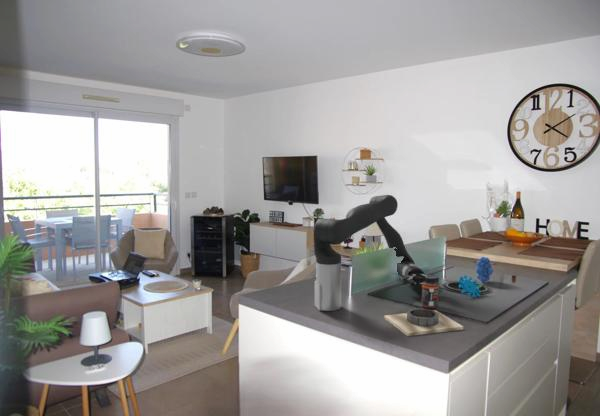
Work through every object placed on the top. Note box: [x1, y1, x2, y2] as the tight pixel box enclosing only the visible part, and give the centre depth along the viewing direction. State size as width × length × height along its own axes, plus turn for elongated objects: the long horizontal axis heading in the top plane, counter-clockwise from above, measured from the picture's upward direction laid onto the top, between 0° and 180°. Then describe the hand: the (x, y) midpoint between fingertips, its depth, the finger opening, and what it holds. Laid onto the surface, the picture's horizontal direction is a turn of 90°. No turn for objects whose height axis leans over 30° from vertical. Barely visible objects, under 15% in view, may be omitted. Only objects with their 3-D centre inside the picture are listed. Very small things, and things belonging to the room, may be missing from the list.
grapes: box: [474, 256, 494, 284], centre depth 190 cm, size 12×7×12 cm, turn 129°
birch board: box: [383, 309, 464, 337], centre depth 143 cm, size 20×16×1 cm
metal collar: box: [406, 307, 439, 327], centre depth 143 cm, size 10×10×2 cm
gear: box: [457, 274, 482, 299], centre depth 174 cm, size 11×6×10 cm
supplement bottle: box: [421, 275, 440, 309], centre depth 160 cm, size 6×6×11 cm
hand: (424, 284), depth 166 cm, fingers open, 8 cm apart
